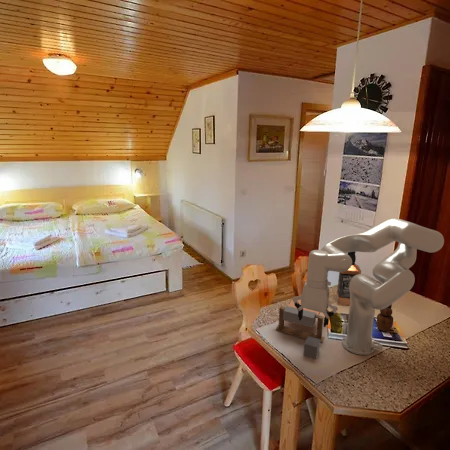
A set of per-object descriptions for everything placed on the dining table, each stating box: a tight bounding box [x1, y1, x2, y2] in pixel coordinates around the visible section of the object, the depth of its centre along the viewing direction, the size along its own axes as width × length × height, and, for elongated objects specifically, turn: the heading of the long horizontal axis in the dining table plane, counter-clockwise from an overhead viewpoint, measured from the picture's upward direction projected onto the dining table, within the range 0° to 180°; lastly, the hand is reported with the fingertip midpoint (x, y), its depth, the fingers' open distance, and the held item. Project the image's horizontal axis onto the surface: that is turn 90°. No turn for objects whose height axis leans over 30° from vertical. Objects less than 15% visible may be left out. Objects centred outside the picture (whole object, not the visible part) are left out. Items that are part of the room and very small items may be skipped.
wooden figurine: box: [376, 304, 394, 332], centre depth 146 cm, size 7×6×15 cm
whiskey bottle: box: [335, 252, 362, 307], centre depth 170 cm, size 10×10×32 cm
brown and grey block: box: [283, 300, 321, 328], centre depth 146 cm, size 14×19×4 cm
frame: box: [275, 305, 325, 344], centre depth 143 cm, size 21×4×11 cm, turn 62°
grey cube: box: [303, 336, 321, 360], centre depth 131 cm, size 5×6×6 cm
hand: (312, 322), depth 128 cm, fingers open, 9 cm apart
